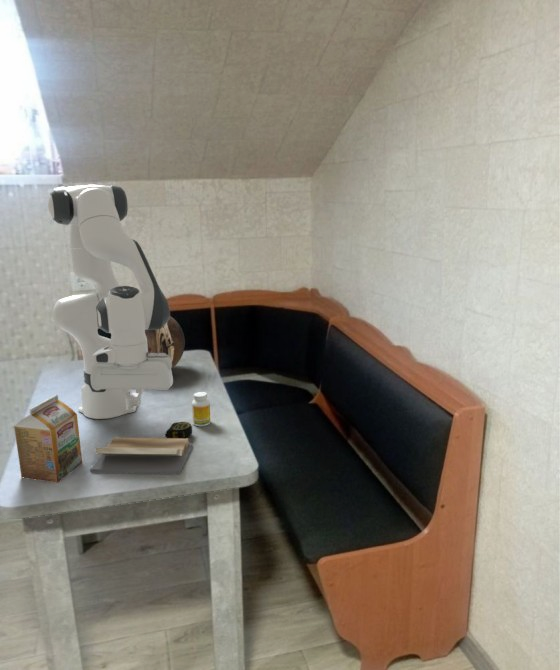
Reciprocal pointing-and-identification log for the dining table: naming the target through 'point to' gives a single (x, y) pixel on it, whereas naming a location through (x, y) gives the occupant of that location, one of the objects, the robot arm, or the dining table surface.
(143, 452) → the ash plank
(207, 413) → the supplement bottle
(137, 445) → the oak plank
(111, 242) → the robot arm
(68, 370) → the dining table surface
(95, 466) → the board
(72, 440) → the milk carton
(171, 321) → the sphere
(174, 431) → the tape measure
